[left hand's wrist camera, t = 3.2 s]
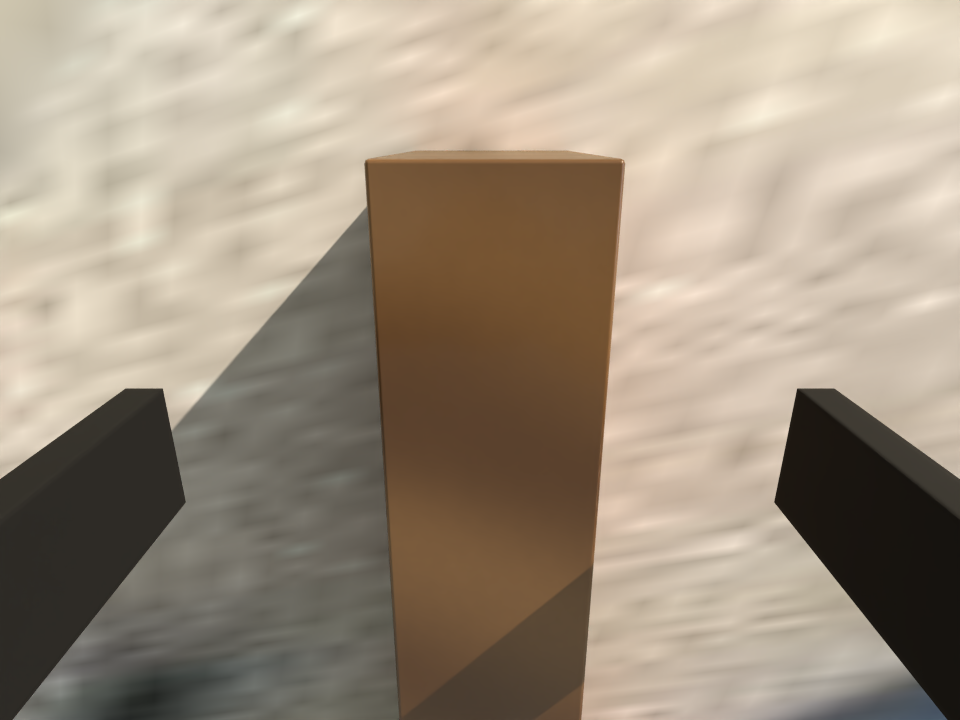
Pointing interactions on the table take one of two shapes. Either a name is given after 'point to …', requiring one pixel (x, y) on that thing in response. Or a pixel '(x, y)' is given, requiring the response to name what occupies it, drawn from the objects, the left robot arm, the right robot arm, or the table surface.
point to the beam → (492, 419)
